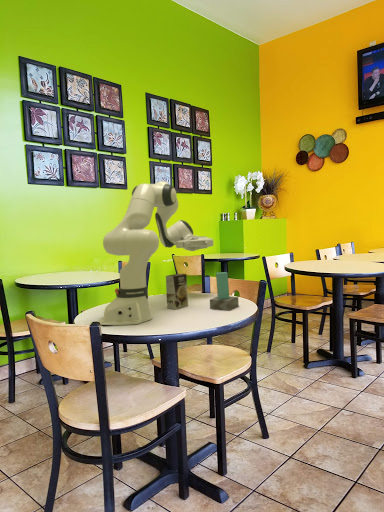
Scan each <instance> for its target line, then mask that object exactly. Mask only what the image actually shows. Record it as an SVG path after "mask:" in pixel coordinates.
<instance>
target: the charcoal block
mask: <svg viewBox="0 0 384 512" xmlns="http://www.w3.org/2000/svg"><path fill="white" fill-rule="evenodd" d="M239 305H240V304H239V296H230V295H229V298H228V299H219V298H218V296H216V297H213V298H210V299H209V309H212V311H213V310H214V311H224V312H226V311H227V312H230V311H232V310H235V309H237V308H239Z"/></svg>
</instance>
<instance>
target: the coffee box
mask: <svg viewBox="0 0 384 512" xmlns="http://www.w3.org/2000/svg"><path fill="white" fill-rule="evenodd" d="M187 277H188V275H187V273H175V274H169V275H165V284H166V285H165V288H166V290H165V291H166V308H167V309H170V310H180V309H182V308H186V307H188V306H189V299H188V298H189V297H188V283H187V282H188V279H187Z"/></svg>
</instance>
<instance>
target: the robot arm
mask: <svg viewBox="0 0 384 512" xmlns="http://www.w3.org/2000/svg"><path fill="white" fill-rule="evenodd" d="M155 208H156V211H155V213H154V219H155V222H156V227H157V231H158V234H157V232H155V231H154V230H152V229H151V230H150V229H145V228H146V227H148V226H149V225H150V223H151V220H152V216H153V212H154V209H155ZM178 208H179V200H178V197H177V190H176V188H175V187H174V186H173V185H172V184H169V183H168V182H167V181H164V180H161V181H157V182H156V183H141V184H138V185H135V186H134V187H133V189H132V191H131V198H130V201H129V204H128V206H127V210H126V212H125V215H124V216H123V218H122V219H121V221H120V222H119V223H118V225H116V226H115V227H114V228H113V229H112V230H109V232H107V233H106V234H105V235H104V237H103V239H102V245H103V249H104V251H105V252H106V253H107V254H109V255H113V256H129V258H128V261H127V263H126V264H125V265H123V266H122V267H121V268H120V270H119V282H120V284H119V285H120V287H119V288H117V287H116V288H115V289H114V293H115V298H114V299H113V300H112V301H110V303H108V304H107V305H106V307H105V308H104V312H103V317H101V318H100V319H99V320H98V323H99V322H100V323H101V325H100V326H102V325H113V326H130V325H139V324H142V323H144V322H148V321H151V320H152V319H153V316H152V314H151V310H150V306H149V300H148V299H149V289H148V286H147V266H148V263H149V261H150V258H151V257H152V256H153V254H154V253H156V252H157V250H158V249H159V246H160V243H161V244H162V245H163V246H164V247H165V248H168V249H169V248H173V247H174V246H175V247H176V249H183V250H185V251H189V252H195V251H198V250H202V249H208V248H209V247H213V246H214V239H213V238H211V237H207V236H199V235H194V230H193V228H192V226H191V224H190V223H188V222H187V221H186V220H183V219H178V220H177V222H174V223H173V224H172V225H171V226H169V227H168V228H167V223H168V222H169V220H170V219H171V217H173V215H174V214H176V213H177V211H178Z"/></svg>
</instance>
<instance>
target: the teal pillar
mask: <svg viewBox="0 0 384 512" xmlns="http://www.w3.org/2000/svg"><path fill="white" fill-rule="evenodd" d="M228 274H229V273H228V272H227V271H226V272H225V271H224V272H223V271H222V272H215V276H216V277H215V278H216V281H215V282H216V294H217V297H218V298H219V299H228V298H229V296H230V290H229V289H230V287H229V286H230V285H229V275H228Z"/></svg>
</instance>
